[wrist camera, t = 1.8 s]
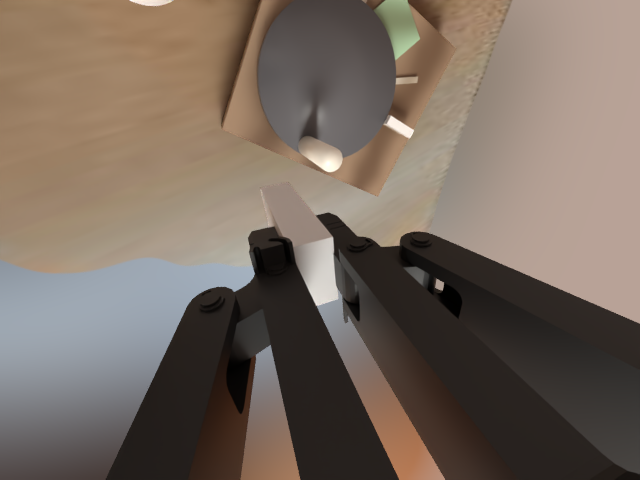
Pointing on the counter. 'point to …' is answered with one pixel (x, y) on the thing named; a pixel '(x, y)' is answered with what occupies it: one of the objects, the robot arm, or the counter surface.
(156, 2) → the mug
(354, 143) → the gray pegged oval disc
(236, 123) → the board
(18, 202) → the counter surface
